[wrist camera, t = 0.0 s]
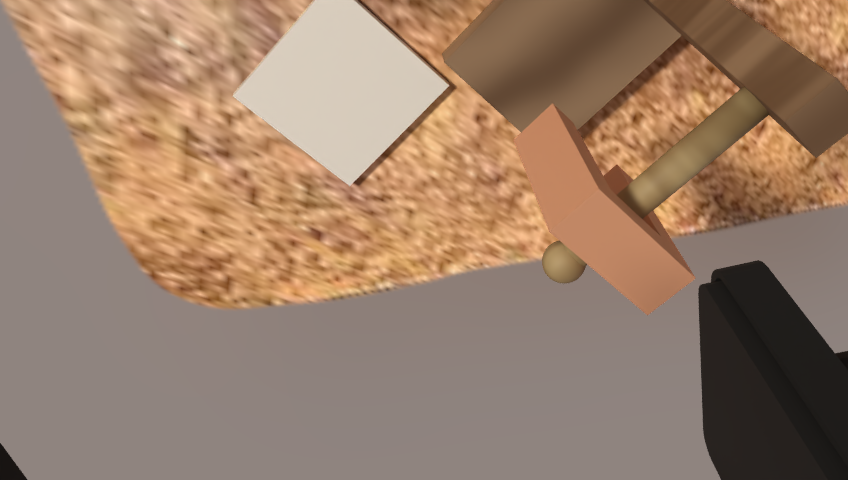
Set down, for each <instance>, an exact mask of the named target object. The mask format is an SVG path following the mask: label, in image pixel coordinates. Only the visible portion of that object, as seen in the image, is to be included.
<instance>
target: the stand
mask: <svg viewBox="0 0 848 480" xmlns="http://www.w3.org/2000/svg"><path fill="white" fill-rule="evenodd" d="M681 36H683V37H684V38H685V39H686V40H687V41H688V42H690V43H691V44H692V45H693V46H694V47H695V48H696V49H697V50H698V51H699V52H700V53H702V54H703V55H704V56H705V57H706V58H707V59H708V60H709V61H710V62H711V63H713V64H714V65H715V66H716V67H717V68H718V69H719V70H720V71H721V72H722V73H724V74H725V75H726V76H727V77H728V78H729V79H730V80H731V81H732V82H733V83H735V84H736V85H737V86H738V87H739V88H740V90H739V91H738V92H737V93H735V94H734V95H733V96H732V97H731V98H730V99H728V100H727V101H726V102H725V103H724V104H723V105H721V106H720V107H719V108H718V109H717V110H715V111H714V112H713V113H712V114H711V115H710V116H708V117H707V118H706V119H705V120H704V121H703V122H701V123H700V124H699V125H698V126H697V127H695V128H694V129H693V130H692V131H691V132H690V133H688V134H687V135H686V136H685V137H684V138H683V139H681V140H680V141H679V142H678V143H677V144H676V145H674V146H673V147H672V148H671V149H670V150H668V151H667V152H666V153H665V154H664V155H663V156H661V157H660V158H659V159H658V160H657V161H656V162H654V163H653V164H652V165H651V166H650V167H649V168H647V169H646V170H645V171H644V172H643V173H641V174H640V175H639V176H638V177H637V178H636V179H634V180H633V181H632V182H631V183H630V184H629V185H627V186H626V187H625V188H624V189H623V190H621V191H620V192H619V193H618V194H617V196H618V197H619V198H620V199H621V200H622V201H623V202H624V203H625V204H627V205H628V206H629V207H630V208H631V209H632V210H633V211H634V212H635V213H636V214H637V215H638V216H639V217H640V218H642V219H643V218H644V217H645V216H647V215H648V214H649V213H650V212H652V211H653V210H654V209H655V208H656V207H658V206H659V205H660V204H661V203H662V202H664V201H665V200H666V199H667V198H668V197H670V196H671V195H672V194H673V193H675V192H676V191H677V190H678V189H679V188H681V187H682V186H683V185H684V184H685V183H687V182H688V181H689V180H690V179H692V178H693V177H694V176H695V175H696V174H698V173H699V172H700V171H701V170H702V169H704V168H705V167H706V166H707V165H708V164H710V163H711V162H712V161H713V160H715V159H716V158H717V157H718V156H719V155H721V154H722V153H723V152H724V151H725V150H727V149H728V148H729V147H730V146H732V145H733V144H734V143H735V142H736V141H738V140H739V139H740V138H741V137H742V136H744V135H745V134H746V133H747V132H748V131H750V130H751V129H752V128H753V127H755V126H756V125H757V124H758V123H759V122H761V121H762V120H763V119H764V118H765V117H767V116H768V115H770V116H771V117H772V118H773V119H774V120H775V121H776V122H777V123H778V124H780V125H781V126H782V127H783V128H784V129H785V130H786V131H787V132H788V133H789V134H790V135H792V136H793V137H794V138H795V139H796V140H797V141H798V142H799V143H800V144H801V145H803V146H804V147H805V148H806V149H807V150H808V151H809V152H810V153H811V154H812V155H814V156H815V157H816V158H817V157H818V156H819V155H821V154H822V153H823V152H824V151H826V150H827V149H828V148H830V147H831V146H832V145H833V144H835V143H836V142H837V141H839V140H840V139H841V138H842V137H844V136H845V135H846V134H847V133H848V92H847V90H846V89H845V88H844V87H843V85H842V84H841V83H840V82H839V80H838V79H837V78H835V77H834V76H833V75H831V74H830V73H828V72H827V71H825V70H824V69H823V68H821V67H820V66H818V65H817V64H816V63H814V62H813V61H811V60H810V59H808V58H807V57H806V56H804V55H803V54H801V53H800V52H799V51H797V50H796V49H794V48H793V47H791V46H790V45H789V44H787V43H786V42H784V41H783V40H782V39H780V38H779V37H777V36H776V35H774V34H773V33H772V32H770V31H769V30H767V29H766V28H765V27H763V26H762V25H760V24H759V23H757V22H756V21H755V20H753V19H752V18H750V17H749V16H748V15H746V14H745V13H743V12H742V11H740V10H739V9H738V8H736V7H735V6H733V5H732V4H731V3H729V2H728V1H726V0H493V1H492V2H491V3H490V4H489V6H488V7H487V8H486V9H485V10H484V11H483V12H482V13H481V14H480V15H479V16H478V17H477V18H476V19H475V20H474V21H473V22H472V23H471V24H470V25H469V26H468V27H467V28H466V29H465V30H464V31H463V32H462V33H461V34H460V36H459V37H458V38H457V39H456V40H455V41H454V42H453V43H452V44H451V45H450V46H449V47H448V48H447V49H446V50H445V51H444V52H443V53H442V55H443V59H444V62H445V63H446V64H447V65H448V66H449V67H450V68H451V69H452V70H453V71H454V72H456V73H457V74H458V75H459V76H460V77H461V78H462V79H463V80H464V81H465V82H466V83H468V84H469V85H470V86H471V87H472V88H473V89H474V90H475V91H476V92H477V93H479V94H480V95H481V96H482V97H483V98H484V99H485V100H486V101H487V102H488V103H490V104H491V105H492V106H493V107H494V108H495V109H496V110H497V111H498V112H499V113H501V114H502V115H503V116H504V117H505V118H506V119H507V120H508V121H509V122H510V123H512V124H513V125H514V126H515V127H516V128H517V129H518V130H519V131H520V132H522V131H523V130H524V129H525V128H527V127H528V126H529V125H530V124H531V123H532V122H533V121H534V120H535V119H536V118H537V117H538V116H539V115H540V114H541V113H543V112H544V111H545V110H546V109H547V108H548V107H549V106H550V105H551V104H552V103H553V104H554V105H555V106H556V107H557V108H558V109H560V110H561V111H562V112H563V113H564V114H565V115H566V116H567V117H568V118H569V119H570V120H571V121H572V122H573V123H574V125H575V127H576V129H577V130H578V129H579V128H580V127H582V126H583V125H584V124H585V123H586V122H587V121H588V120H589V119H590V118H591V117H593V116H594V115H595V114H596V113H597V112H598V111H599V110H600V109H601V108H602V107H604V106H605V105H606V104H607V103H608V102H609V101H610V100H611V99H612V98H613V97H615V96H616V95H617V94H618V93H619V92H620V91H621V90H622V89H623V88H625V87H626V86H627V85H628V84H629V83H630V82H631V81H632V80H633V79H634V78H636V77H637V76H638V75H639V74H640V73H641V72H642V71H643V70H644V69H645V68H647V67H648V66H649V65H650V64H651V63H652V62H653V61H654V60H655V59H656V58H658V57H659V56H660V55H661V54H662V53H663V52H664V51H665V50H666V49H667V48H669V47H670V46H671V45H672V44H673V43H674V42H675V41H676V40H677V39H678V38H680V37H681ZM542 265H543V269H544V271H545V273H546V274H547V276H548V277H549V278H550V279H552V280H553V281H556V282H558V283H570V282H573V281H575V280H577V279H578V278H579V277H580V276H581V275H582V273H583V272H584V270H585V267H586V265H587V263H585V262H584V261H583V260H582V259H581V258H580V257H578V256H577V255H576V254H575V253H574V252H573V251H571V250H570V249H569V248H568V247H567V246H565V245H564V244H563V243H562V242H561V241H556V242H554V243H552V244H551V245H549V246H548V247H547V249H546V250H545V252H544V254H543V258H542Z"/></svg>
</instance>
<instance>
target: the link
mask: <svg viewBox="0 0 848 480" xmlns="http://www.w3.org/2000/svg"><path fill="white" fill-rule="evenodd" d="M514 142H515V145H516V147H517V150H518V153H519V155H520V158H521V160H522V163H523V165H524V168H525V171H526V173H527V176H528V178H529V181H530V183H531V186H532V189H533V191H534V194H535V196H536V199H537V201H538V204H539V207H540V209H541V212H542V214H543V217H544V219H545V222H546V225H547V227H548V230H549V232H550V233H551V234H553V235H554V236H555V237H556V238H557V239H558V240H560V241H561V242H562V243H563V244H564V245H565V246H567V247H568V248H569V249H570V250H571V251H573V252H574V253H575V254H576V255H577V256H578V257H580V258H581V259H582V260H583V261H584V262H585V263H587V264H588V265H589V266H590V267H591V268H592V269H594V270H595V271H596V272H597V273H599V274H600V275H601V276H602V277H603V278H604V279H606V280H607V281H608V282H609V283H610V284H611V285H613V286H614V287H615V288H616V289H617V290H618V291H619V292H621V293H622V294H623V295H624V296H625V297H627V298H628V299H629V300H630V301H631V302H632V303H634V304H635V305H636V306H637V307H638V308H639V309H641V310H642V311H643V312H644V313H645V314H647V315H649V314H650V313H651V312H652V311H654V310H655V309H656V308H658V307H659V306H660V305H662V304H663V303H664V302H665V301H667V300H668V299H669V298H671V297H672V296H673V295H675V294H676V293H677V292H678V291H680V290H681V289H682V288H684V287H685V286H686V285H688V284H689V283H690V282H691V281H693V280H694V279H695V276H694V275H693V273H692V272H691V270H690V268H689V267H688V265H687V264H686V262H685V260H684V259H683V257H682V256H681V254H680V252H679V251H678V249H677V248H676V246H675V244H674V243H673V241H672V240H671V238H670V237H669V235H668V233H667V232H666V230H665V229H664V227H663V225H662V224H661V222H660V221H659V219H658V217H657V216H656V214H655V213H654V211H652V212H650V213H649V214H648V215H647V216H645V217H644V218H643V219H642V218H640V217H639V216H638V215H637V214H636V213H635V212H634V211H633V210H632V209H631V208H630V207H629V206H628V205H627V204H625V203H624V202H623V201H622V200H621V199H620V198H619V197H618V196H617V194H618V193H619V192H620V191H621V190H623V189H624V188H625V187H626V186H627V185H629V184H630V183H631V182H632V181H633V179H632V178H631V177H630V176H628V175H627V174H626V173H625V172H624V171H623V170H622V169H621V168H620V167H619V166H618V165H616V166H615V167H613V168H612V169H611V170H610V171H609V172H608V173H607V174H605V175H604V176H603V175H602V173H601V171H600V170H599V168H598V166H597V164H596V162H595V161H594V159H593V157H592V155H591V154H590V152H589V150H588V148H587V146H586V145H585V143H584V141H583V139H582V138H581V136H580V134H579V132H578V130H577V129H576V127H575V125H574V123H573V122H572V121H571V120H570V119H569V118H568V117H567V116H566V115H565V114H564V113H563V112H562V111H561V110H560V109H558V108H557V107H556V106H555V105H554V104H553V103H552V104H551V105H550V106H549V107H548V108H547V109H546V110H545V111H544V112H543V113H541V114H540V115H539V116H538V117H537V118H536V119H535V120H534V121H533V122H532V123H531V124H530V125H529V126H528V127H527V128H525V129H524V130H523V131H522V132H521V133H520V134H519V135H518V136H517V137H516V138H515V139H514Z"/></svg>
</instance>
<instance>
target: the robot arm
mask: <svg viewBox="0 0 848 480" xmlns="http://www.w3.org/2000/svg"><path fill="white" fill-rule="evenodd" d="M698 294H699V324H700V351H701V378H702V408H703V431H704V438H705V442H706V446H707V449H708V452H709V455H710V457H711V460H712V462H713V464H714V466H715V468H716V470H717V472H718V474H719V476H720V478H721V480H848V351H845V352H840V353H834V352H833V350H832V349H831V348H830V347H829V345H828V344H827V343H826V341H825V340H824V339H823V338H822V336H821V335H820V334H819V333H818V331H817V330H816V329H815V327H814V326H813V325H812V323H811V322H810V321H809V320H808V318H807V317H806V316H805V315H804V313H803V312H802V311H801V309H800V308H799V307H798V305H797V304H796V303H795V302H794V300H793V299H792V298H791V297H790V295H789V294H788V293H787V291H786V290H785V289H784V287H783V286H782V285H781V283H780V282H779V281H778V280H777V278H776V277H775V276H774V274H773V273H772V272H771V271H770V269H769V268H768V267H767V266H766V265H765V264H764V263H763V262H761V261H759V260H758V261H753V262H749V263H744V264H740V265H735V266H730V267H726V268H721V269H716V270H714V271H713V273H712V276H711V283H706V284H702V285H700V287H699V293H698ZM0 480H27V479H26V477H25V476H24V475H23V473H22V472H21V470H19V468H18V466H17V465H16V464H15V462H14V461H13V460H12V458H11V457H10V455H9V454H8V453H7V451H6V450H5V449H4V447H3V446H2V445H1V443H0Z"/></svg>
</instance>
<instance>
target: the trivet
mask: <svg viewBox="0 0 848 480" xmlns="http://www.w3.org/2000/svg"><path fill="white" fill-rule="evenodd" d="M448 86H449V83H448V81H447V80H446V79H444V78H443V77H442V76H441V75H440V74H439V73H438V72H437V71H436V70H434V69H433V68H432V67H431V66H430V65H429V64H428V63H427V62H426V61H424V60H423V59H422V58H421V57H420V56H419V55H418V54H417V53H416V52H414V51H413V50H412V49H411V48H410V47H409V46H408V45H407V44H406V43H404V42H403V41H402V40H401V39H400V38H399V37H398V36H397V35H396V34H394V33H393V32H392V31H391V30H390V29H389V28H388V27H387V26H386V25H384V24H383V23H382V22H381V21H380V20H379V19H378V18H377V17H376V16H374V15H373V14H372V13H371V12H370V11H369V10H368V9H367V8H366V7H364V6H363V5H362V4H361V3H360V2H359V1H358V0H313V1H312V2H311V4H310V5H309V6H308V7H307V8H306V9H305V11H304V12H303V13H302V14H301V15H300V16H299V17H298V19H297V20H296V21H295V22H294V23H293V24H292V26H291V27H290V28H289V29H288V30H287V31H286V33H285V34H284V35H283V36H282V37H281V38H280V40H279V41H278V42H277V43H276V44H275V45H274V47H273V48H272V49H271V50H270V51H269V52H268V54H267V55H266V56H265V57H264V58H263V59H262V61H261V62H260V63H259V64H258V65H257V66H256V67H255V69H254V70H253V71H252V72H251V73H250V74H249V76H248V77H247V78H246V79H245V80H244V81H243V83H242V84H241V85H240V86H239V87H238V88H237V90H236V91H235V92H234V94H233V97H234V98H236V99H237V100H238V101H240V102H241V103H242V104H243V105H245V106H246V107H247V108H249V109H250V110H251V111H253V112H254V113H255V114H256V115H258V116H259V117H260V118H262V119H263V120H264V121H266V122H267V123H268V124H270V125H271V126H272V127H273V128H275V129H276V130H277V131H279V132H280V133H281V134H283V135H284V136H285V137H286V138H288V139H289V140H290V141H292V142H293V143H294V144H296V145H297V146H298V147H299V148H301V149H302V150H303V151H305V152H306V153H307V154H309V155H310V156H311V157H313V158H314V159H315V160H316V161H318V162H319V163H320V164H322V165H323V166H324V167H326V168H327V169H328V170H329V171H331V172H332V173H333V174H335V175H336V176H337V177H339V178H340V179H341V180H342V181H344V182H345V183H346V184H348V185H349V186H350V185H351V184H352V183H353V182H354V181H355V180H356V179H357V178H358V177H359V176H360V175H361V174H362V173H363V172H364V171H365V170H366V169H367V168H368V167H369V166H370V165H371V164H372V163H373V162H374V161H375V160H376V159H377V158H378V157H379V156H380V155H381V154H382V153H383V152H384V151H385V150H386V149H387V148H388V147H389V146H390V145H391V144H392V143H393V142H394V141H395V140H396V139H397V138H398V137H399V136H400V135H401V134H402V133H403V132H404V131H405V130H406V129H407V128H408V127H409V126H410V125H411V124H412V123H413V122H414V121H415V120H416V119H417V118H418V117H419V116H420V115H421V114H422V113H423V112H424V111H425V110H426V109H427V108H428V107H429V106H430V105H431V104H432V103H433V102H434V101H435V100H436V99H437V97H438V96H439V95H440V94H441V93H442V92H443V91H444V90H445V89H446V88H447V87H448Z"/></svg>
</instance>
